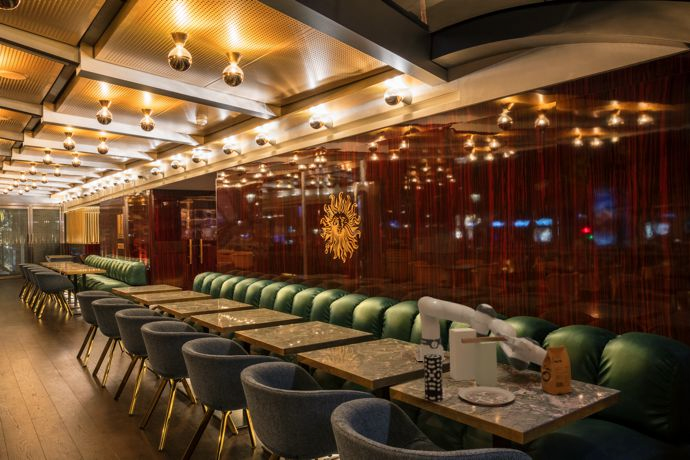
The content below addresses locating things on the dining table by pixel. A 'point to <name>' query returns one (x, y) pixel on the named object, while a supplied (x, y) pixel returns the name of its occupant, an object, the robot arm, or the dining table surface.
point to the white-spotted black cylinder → (433, 377)
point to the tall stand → (462, 354)
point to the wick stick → (483, 339)
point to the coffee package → (556, 371)
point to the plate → (469, 390)
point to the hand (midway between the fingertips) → (500, 334)
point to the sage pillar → (486, 364)
